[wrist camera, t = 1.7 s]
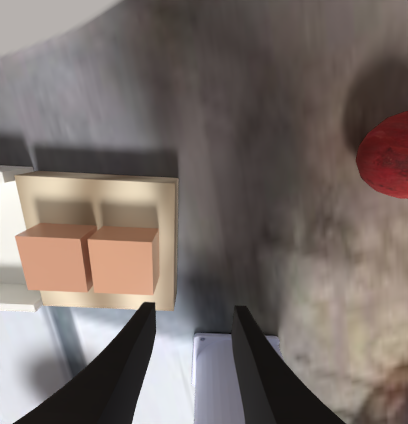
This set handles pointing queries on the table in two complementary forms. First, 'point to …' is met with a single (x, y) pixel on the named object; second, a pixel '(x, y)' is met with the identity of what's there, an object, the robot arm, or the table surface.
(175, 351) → the table surface
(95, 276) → the tile
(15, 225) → the tray
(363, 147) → the onion
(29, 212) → the board
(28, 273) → the tile
